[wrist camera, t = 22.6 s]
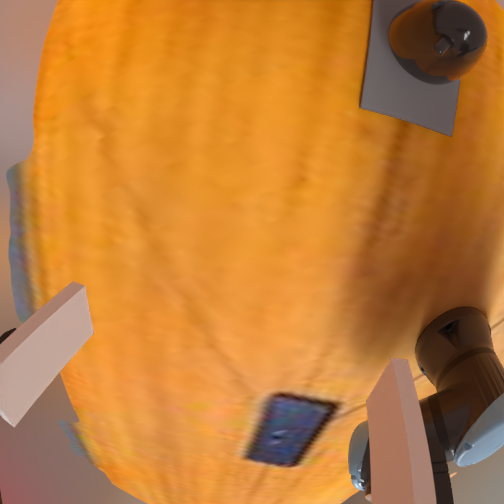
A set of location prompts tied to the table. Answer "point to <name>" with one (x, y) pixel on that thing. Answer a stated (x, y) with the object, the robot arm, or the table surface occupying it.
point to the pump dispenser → (437, 40)
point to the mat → (403, 80)
